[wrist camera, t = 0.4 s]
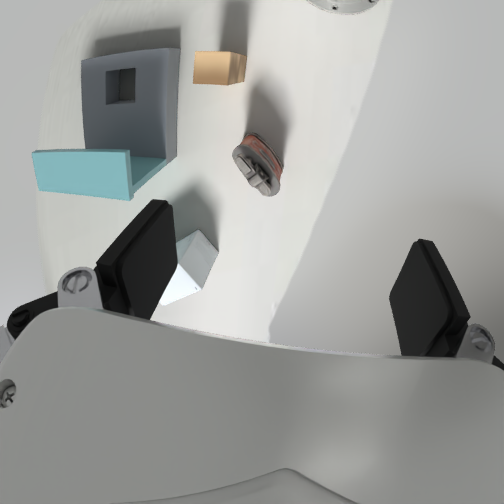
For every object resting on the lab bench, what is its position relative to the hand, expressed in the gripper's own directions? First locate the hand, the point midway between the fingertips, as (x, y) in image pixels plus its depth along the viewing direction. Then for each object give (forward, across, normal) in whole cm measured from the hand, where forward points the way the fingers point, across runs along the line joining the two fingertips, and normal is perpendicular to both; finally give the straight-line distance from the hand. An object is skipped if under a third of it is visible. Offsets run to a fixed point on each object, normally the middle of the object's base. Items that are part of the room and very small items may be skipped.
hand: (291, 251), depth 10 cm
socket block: (+33, +26, -1) cm, 42 cm away
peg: (+33, +10, -6) cm, 35 cm away
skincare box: (+34, +17, +28) cm, 47 cm away
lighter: (+33, +4, +7) cm, 34 cm away
